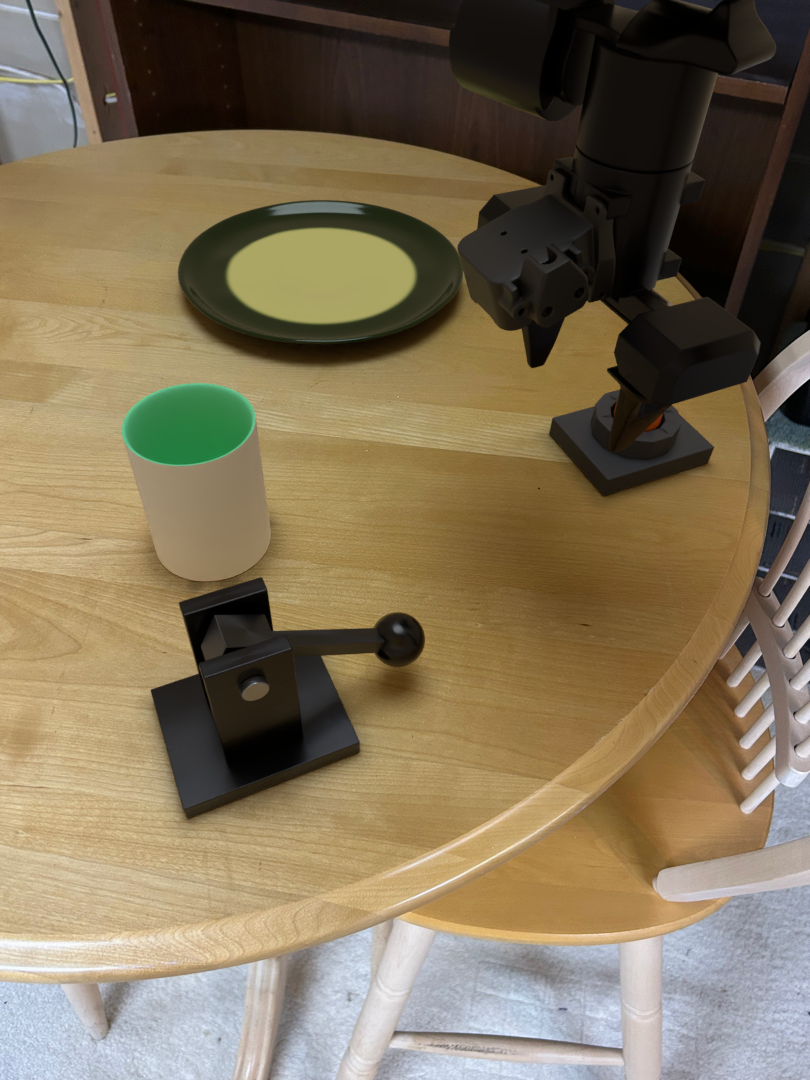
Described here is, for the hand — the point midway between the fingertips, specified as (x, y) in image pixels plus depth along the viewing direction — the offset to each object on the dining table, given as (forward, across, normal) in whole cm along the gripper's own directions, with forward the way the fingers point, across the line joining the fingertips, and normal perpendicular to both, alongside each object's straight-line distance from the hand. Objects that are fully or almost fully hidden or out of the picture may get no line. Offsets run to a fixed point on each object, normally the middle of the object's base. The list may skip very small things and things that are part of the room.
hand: (574, 405), depth 51 cm
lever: (+7, +7, -21) cm, 23 cm away
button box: (+11, -5, +11) cm, 16 cm away
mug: (+11, -11, -22) cm, 27 cm away
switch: (+11, +7, -24) cm, 28 cm away
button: (+8, -5, +11) cm, 14 cm away
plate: (+11, -38, -2) cm, 40 cm away
